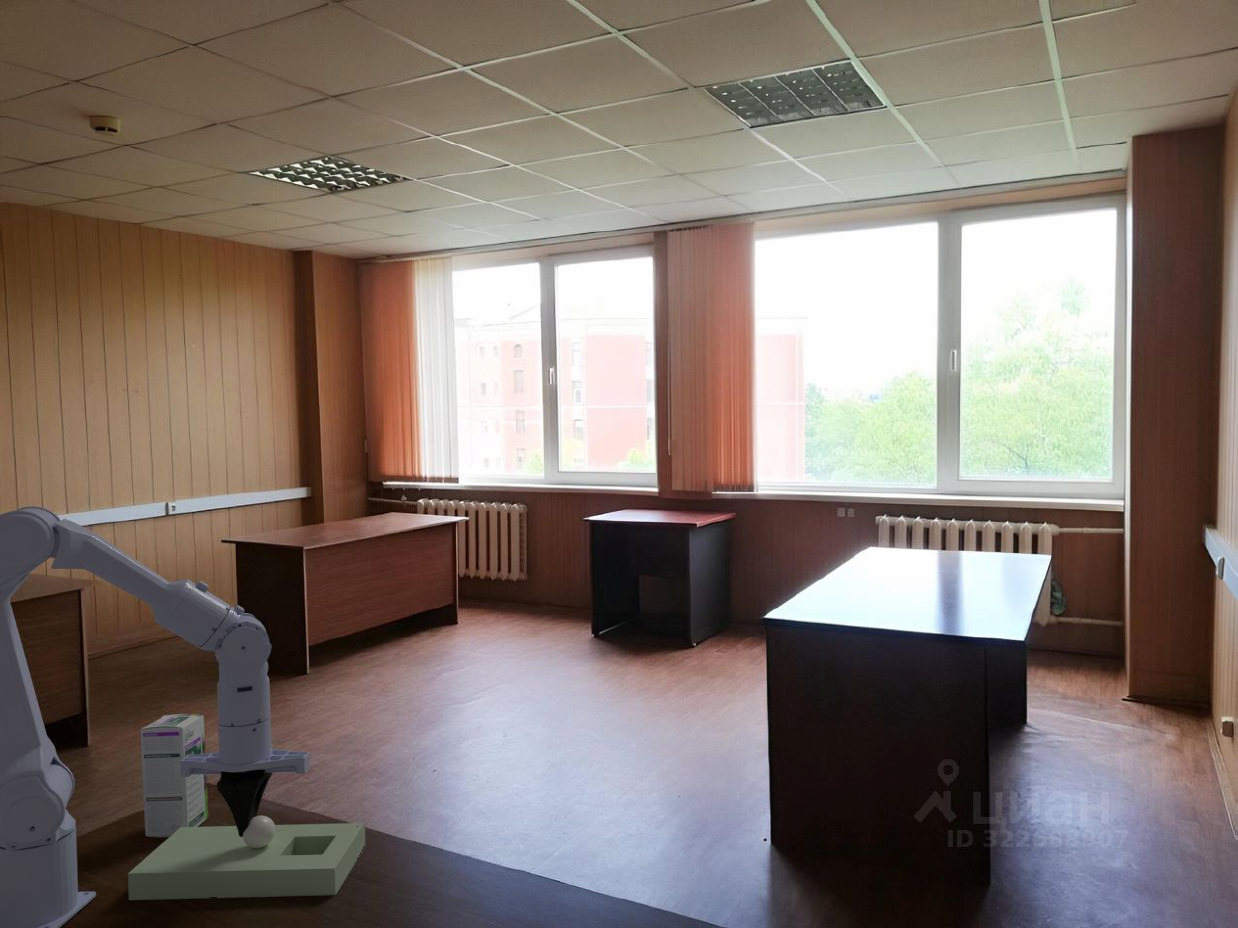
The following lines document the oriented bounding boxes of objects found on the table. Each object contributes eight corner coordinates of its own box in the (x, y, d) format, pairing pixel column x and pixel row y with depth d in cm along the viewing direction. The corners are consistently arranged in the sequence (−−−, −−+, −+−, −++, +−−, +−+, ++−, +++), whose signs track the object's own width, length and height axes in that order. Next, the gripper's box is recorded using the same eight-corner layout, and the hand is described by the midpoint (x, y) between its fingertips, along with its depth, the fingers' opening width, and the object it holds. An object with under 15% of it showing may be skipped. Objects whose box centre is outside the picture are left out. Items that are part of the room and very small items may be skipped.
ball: (233, 829, 103) (262, 818, 103) (245, 816, 106) (273, 806, 106) (243, 858, 103) (273, 847, 103) (255, 844, 106) (284, 834, 106)
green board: (128, 899, 98) (128, 873, 98) (181, 850, 110) (180, 827, 110) (335, 894, 99) (334, 868, 98) (365, 846, 111) (364, 822, 110)
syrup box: (187, 837, 114) (184, 726, 114) (142, 837, 114) (139, 726, 114) (209, 818, 120) (206, 712, 120) (166, 819, 120) (163, 713, 120)
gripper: (317, 707, 108) (320, 817, 109) (198, 710, 108) (201, 820, 108) (297, 725, 101) (300, 842, 102) (169, 729, 101) (173, 846, 101)
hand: (247, 833), depth 104 cm, fingers closed, pressing on ball
